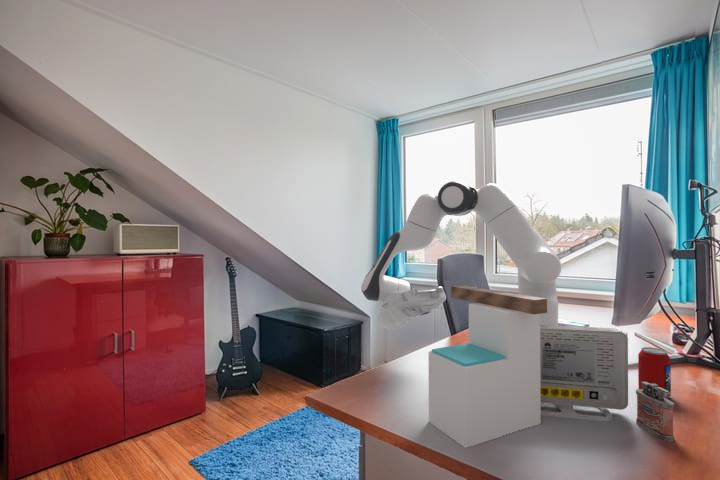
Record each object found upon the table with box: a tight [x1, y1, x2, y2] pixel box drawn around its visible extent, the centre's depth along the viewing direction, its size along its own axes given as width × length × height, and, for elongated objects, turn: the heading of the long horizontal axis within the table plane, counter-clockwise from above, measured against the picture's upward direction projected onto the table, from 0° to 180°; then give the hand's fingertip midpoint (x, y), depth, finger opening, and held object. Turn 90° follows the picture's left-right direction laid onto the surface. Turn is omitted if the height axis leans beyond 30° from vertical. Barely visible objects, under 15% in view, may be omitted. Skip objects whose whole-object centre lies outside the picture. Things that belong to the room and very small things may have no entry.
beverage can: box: [637, 346, 672, 399], centre depth 98 cm, size 7×7×12 cm
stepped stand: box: [428, 302, 542, 449], centre depth 84 cm, size 12×22×26 cm, turn 116°
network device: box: [540, 325, 629, 422], centre depth 90 cm, size 26×9×20 cm, turn 77°
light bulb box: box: [558, 318, 590, 327], centre depth 137 cm, size 11×7×11 cm, turn 40°
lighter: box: [635, 382, 675, 442], centre depth 80 cm, size 8×3×10 cm, turn 5°
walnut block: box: [450, 284, 547, 314], centre depth 89 cm, size 26×4×3 cm, turn 26°
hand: (428, 289), depth 112 cm, fingers open, 8 cm apart
